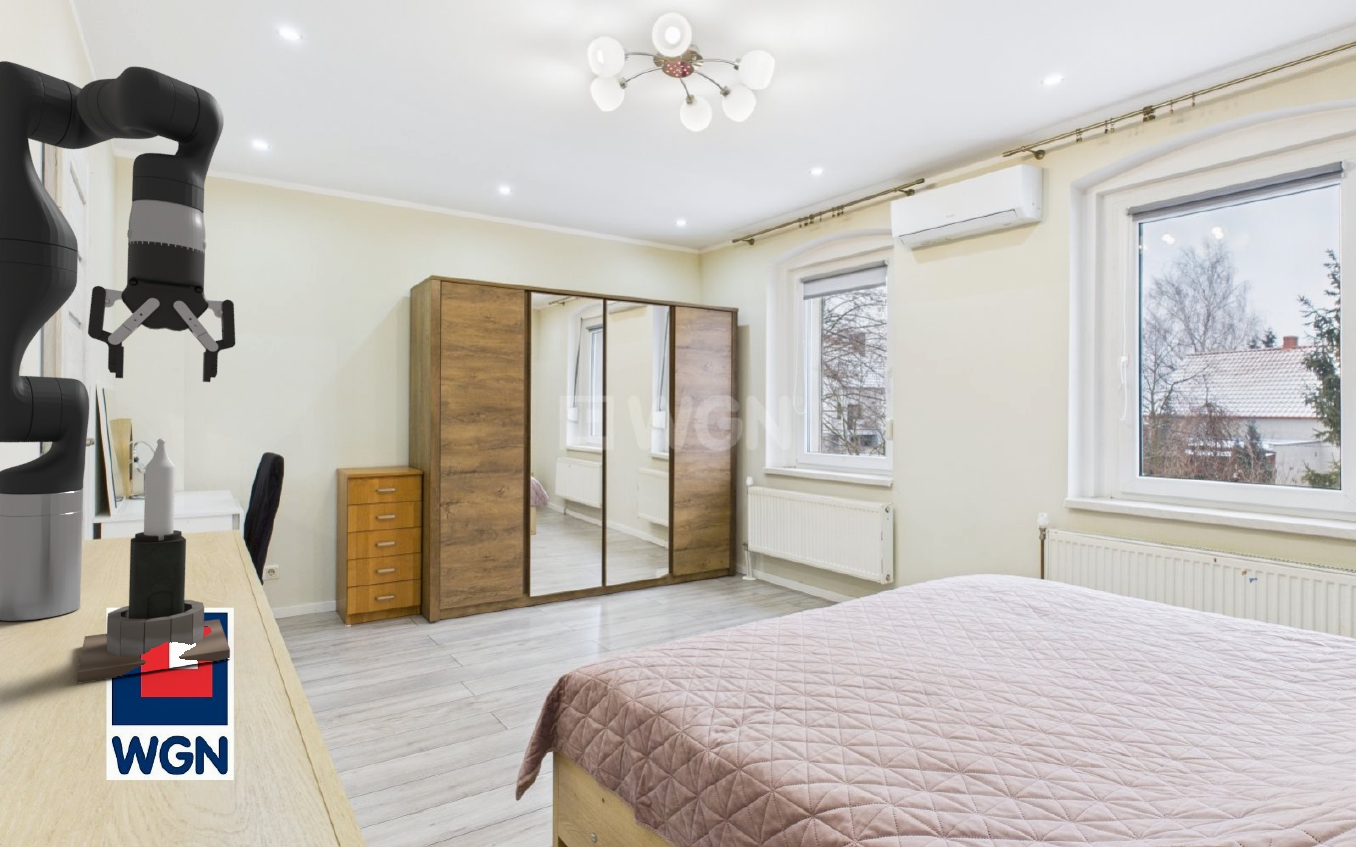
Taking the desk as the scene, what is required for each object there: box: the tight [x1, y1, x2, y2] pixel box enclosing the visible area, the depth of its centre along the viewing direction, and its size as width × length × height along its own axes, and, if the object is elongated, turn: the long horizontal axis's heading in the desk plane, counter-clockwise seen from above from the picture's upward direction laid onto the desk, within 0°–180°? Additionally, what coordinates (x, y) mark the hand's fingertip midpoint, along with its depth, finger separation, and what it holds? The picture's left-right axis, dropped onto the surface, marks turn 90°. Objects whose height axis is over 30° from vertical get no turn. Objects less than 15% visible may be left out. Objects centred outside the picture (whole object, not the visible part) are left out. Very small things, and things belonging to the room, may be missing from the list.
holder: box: [76, 599, 231, 684], centre depth 86 cm, size 14×14×5 cm
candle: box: [128, 438, 187, 619], centre depth 86 cm, size 5×5×25 cm
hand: (164, 380), depth 85 cm, fingers open, 8 cm apart
